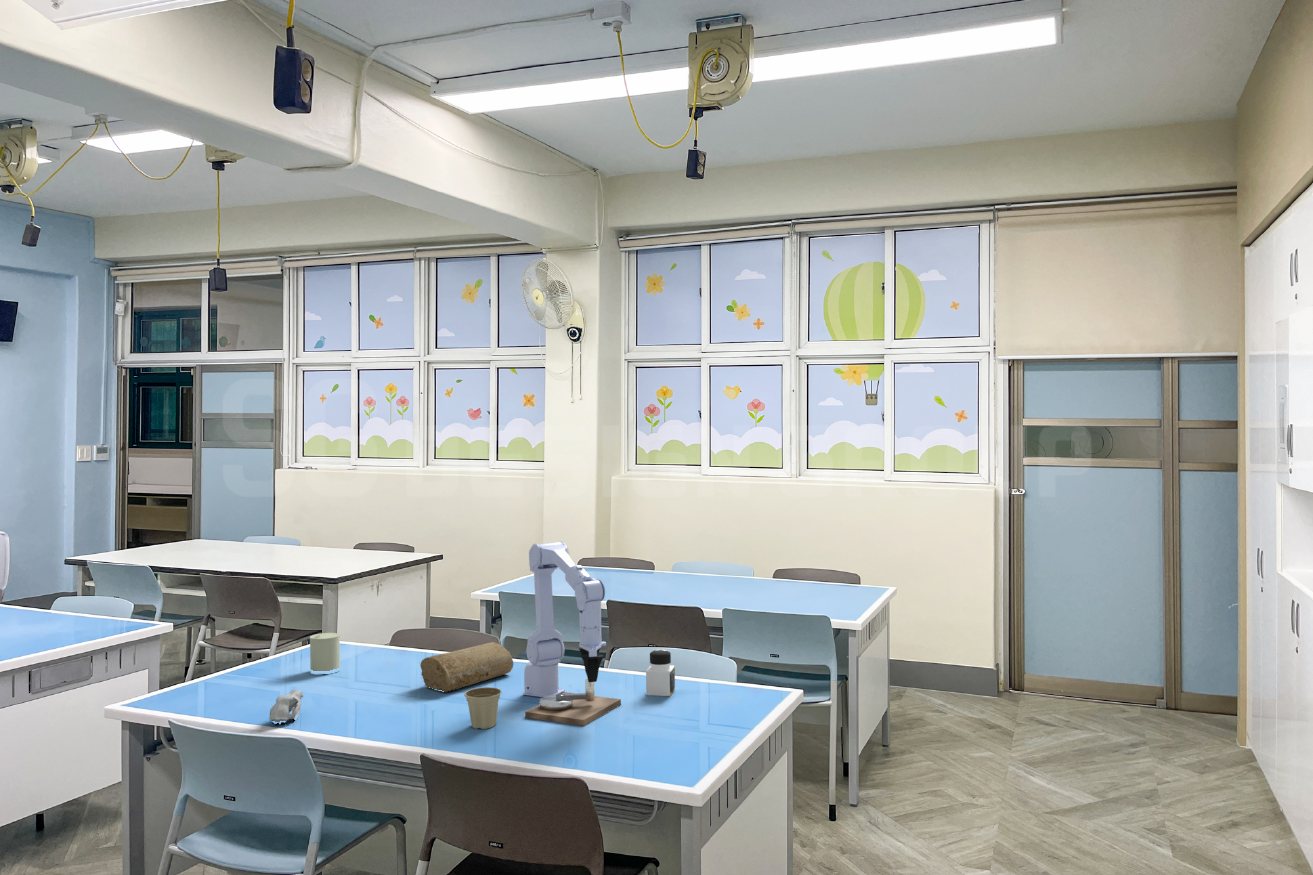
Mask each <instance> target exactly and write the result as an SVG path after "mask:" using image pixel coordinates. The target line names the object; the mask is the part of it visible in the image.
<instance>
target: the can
mask: <svg viewBox="0 0 1313 875" xmlns="http://www.w3.org/2000/svg"><path fill="white" fill-rule="evenodd" d="M340 636H341V635H340V633H338V632H337V633H336V632H322V633H317V634H313V635H311V636H309V653H310V657H309V658H310V663H309V664H310V665H309V666H310V669H311V670H313V671H330V670H333V669H337V668H339V667H340V668H341V662H340V661H341V660H340V658H341V656H340V655H341V654H340V651H341V650H340V648H341V646H340V644H341V643H340V638H341V637H340Z"/></svg>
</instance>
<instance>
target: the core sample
mask: <svg viewBox="0 0 1313 875" xmlns="http://www.w3.org/2000/svg"><path fill="white" fill-rule="evenodd" d="M513 660H514V659H513V656H512V655H511V652H510V651H508V649H507V648H505V647H504V646H503V645H501V644H500V643H497V642H494V641H493V642H492V641H491V642H486V643H482V644H479V645H478V644H477V645H474V646H470V647H466V648H462V649H458V650H453V651H448V652H445V653H439V654H436V655H435V654H434V655H431V656H428V657H425V658H423V659H422V660H421V662H420V664H419V666H420V669H421V674H420V675H421V677H422V679H423V682H424V686H425V687H426V686H427V687H426V688H428V687H430V688H433V689H437V690H442V691H444V692H445V693H448V691H449V692H452V691H451V690H453V691H456V690H459V689H462V687H463V688H465V686H466V687H469V686H471V685H475V684H478V683H480V682H484V681H487V680H491V679H493V678H498V677H500V676H503V675H506V674H509V673H511V671H512V670H513V668H514V661H513ZM430 688H429V689H430ZM455 689H456V690H455ZM444 692H443V693H444Z"/></svg>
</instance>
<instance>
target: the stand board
mask: <svg viewBox="0 0 1313 875" xmlns="http://www.w3.org/2000/svg"><path fill="white" fill-rule="evenodd" d="M561 694H577V693H576V692H575V693H574V692H567V691H564V692H562V693H561ZM621 705H622V699H620V698H614V697H606V696H598V695H595V700H594V701H586V699H581V700H573V706H572V707H570V708H567V709H562V710H546V709H543V708H541V707H540V704H538V705H536V706H533V707H532V708H530V709H527V710H526V711H525V712H524V717H525V718H527V719H534V720H542V721H548V722H555V723H563V724H569V725H576V726H582V727H583V726H586V725H588V724H590V723H591V722H593V721H595V720H597V719H598V718H600V717H602V716H603V715H605V714H607V713H609V712H610V711H612V710H614V709H617V706H618V707H619V706H621ZM608 711H609V712H608Z"/></svg>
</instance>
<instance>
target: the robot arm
mask: <svg viewBox="0 0 1313 875" xmlns="http://www.w3.org/2000/svg"><path fill="white" fill-rule="evenodd" d="M528 561H529V562H528V563H529V564H528V565H529V571H530V572H532V573H533V577H534V579H533V580H534V581H533V582H534V602H535V623H536V624H535V626H536V627H535V629H534V631H533V632H531V634H529V635H528V636H527V645H526V652H525V653H526V657H527V659H528V662H527V664H526V665H525V668H524V672H523V674H524V676H523V677H524V678H523V679H524V681H523V682H524V683H523V684H524V692H523V693H522V696H523V695H524V696H528V697H529V696H531V697H539V698H543V697H546V696H550V695H556V694H562V693H564V692H566V690H565V689H562V688H561V689H560V688H559V663H561V660H562V659H564V658H563V657H564V656H565V644H564V641H563V635H562V633H561V632H559V630H556V629H555V626H554V625H555V622H554V621H555V620H554V603H553V602H554V601H553V600H554V598H553V583H552V582H553V580H552V576H553V573H554V572H555V570H557V569H559V570H561V572H563V574H564V579H565V582H566V583H567V584H568V585H569V586H570V587H571V589H572V590H573V591H574V595H575V596H574V597H575V600H576V606H577V607H576V608H577V610H578V611H579V612H578V616H579V643H578V650H579V652H580V653H581V655H580V656H581V659H582V661H583V665H584V671H585V674H586V679H588V682H594V683H596V682H597V680H598V675H599V671H600V670H599V669H600V666H601V663H602V661H603V659H604V655H603V654H599V653H600V650H601V648H602V647H605V646H607V642H606V641H602V640H603V639H602V601H604V600H605V596H606V586H605V584H604V583H603V581H602V579H600V578H593V577H592V576H591V575H590V574H589V573H588V572H587V570H586V569H584V567H583V566H582V564H581V565H579V564H576V563H574V561H573V559H572V558H571V557H570V555H569V548H568V545H567V544H566V543H565V541H557V542H546V543H534V544H532V545H531V547H530V549H529V550H528Z"/></svg>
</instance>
